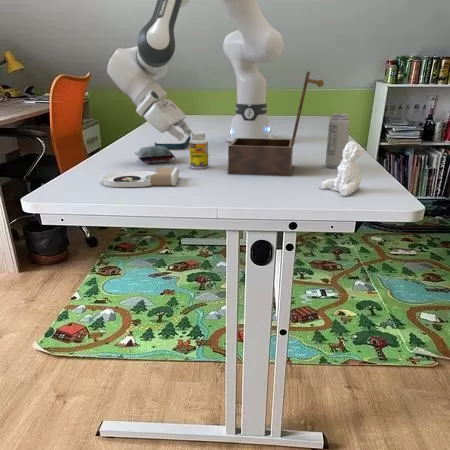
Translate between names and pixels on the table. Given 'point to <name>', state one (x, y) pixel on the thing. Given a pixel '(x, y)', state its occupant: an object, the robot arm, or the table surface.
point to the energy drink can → (337, 139)
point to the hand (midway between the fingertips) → (186, 136)
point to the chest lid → (307, 80)
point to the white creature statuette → (346, 171)
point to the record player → (143, 178)
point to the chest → (260, 156)
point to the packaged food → (154, 154)
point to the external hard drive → (172, 141)
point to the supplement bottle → (198, 151)
